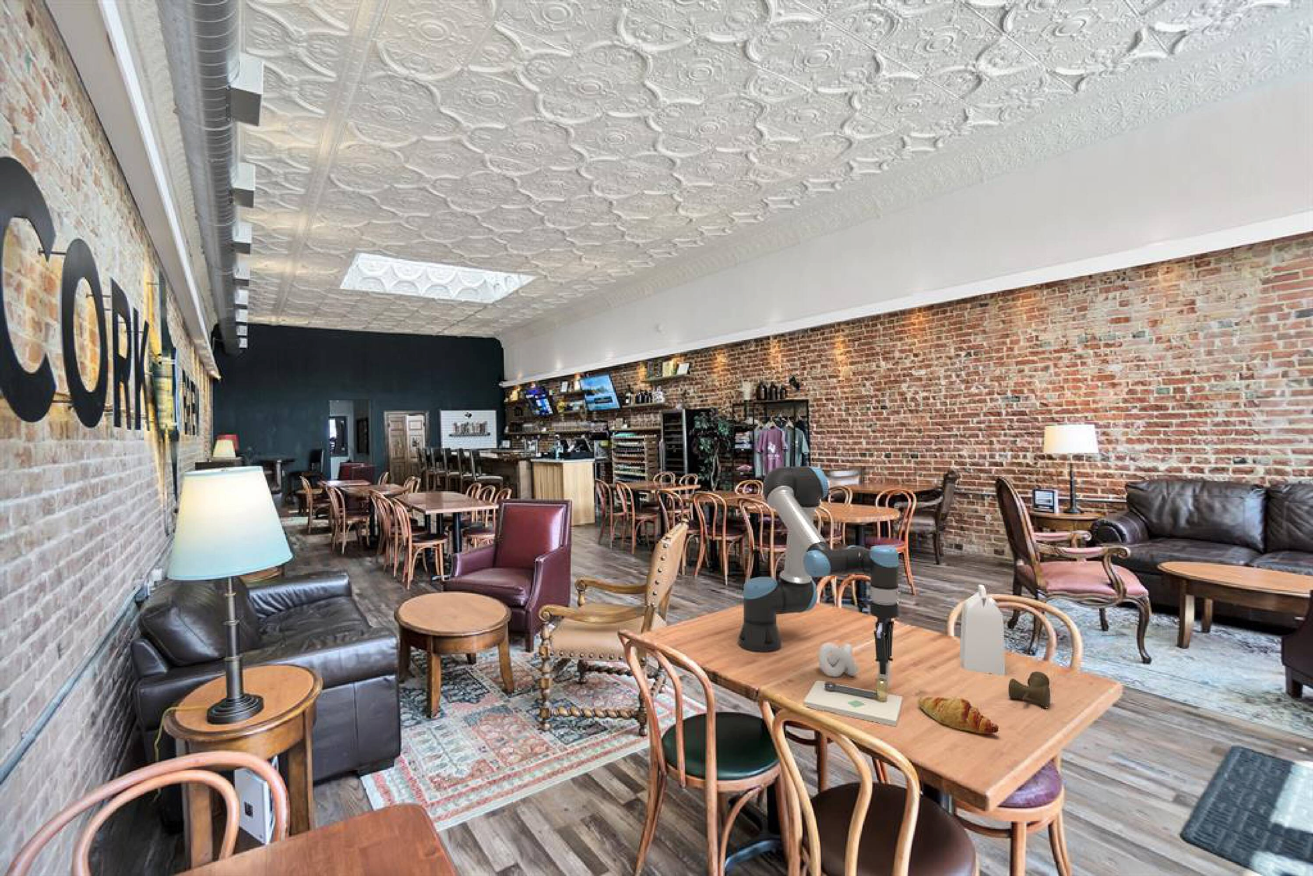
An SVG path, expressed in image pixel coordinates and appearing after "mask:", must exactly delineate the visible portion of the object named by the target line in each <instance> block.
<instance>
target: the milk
mask: <svg viewBox="0 0 1313 876" xmlns="http://www.w3.org/2000/svg"><path fill="white" fill-rule="evenodd" d="M997 605H998V603H997V601H996V600H995V599H994V598H993V597H988V596H987V589H986V588H985V586H984V584H978V586H977V592H976V593H974V594H973V595H972V596H970V597H969V598H968V599H966V600H964V602H963V603H962V608H961V623H960V625H961V626H960V641H959V643H960V646H959V660H960V659H961V660H960V663H961V662H962V663H961V665H963V666H962V669H963V668H964V669H963V671H964V670H970V671H976V672H975V673H978V672H983V673H982V674H986V673H992V674H991V675H993V674H997V675H996V676H1001V675H1003V677H1006V663H1005V662H1006V661H1005V660H1006V658H1005V657H1006V656H1005V631H1004V615H1003V613H1002V611H1001V610H1000V607H998V606H997ZM970 671H969V672H970Z"/></svg>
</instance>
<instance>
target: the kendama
mask: <svg viewBox="0 0 1313 876" xmlns="http://www.w3.org/2000/svg"><path fill="white" fill-rule="evenodd" d="M1026 682H1027V685H1025V684H1023V683H1022V682H1020V681H1018V680H1016V679H1015V678H1010V680H1009V683H1008V690H1007V691H1008V697H1009V698H1010V699H1011V700H1016V699H1022V700H1023V701H1026V700H1027V699H1028V700H1032V701H1035V702H1036V703H1037V704H1039V706H1041V705H1042V706H1041V707H1043V708H1044V707H1045V708H1044V709H1047V708H1046V707H1048V705H1049V706H1050V703H1051V688H1050V678H1049V677H1048V675H1046V674H1045V673H1044V672H1041V671H1032V672H1031V673H1030V675H1029V677H1028V678H1027V680H1026ZM1048 708H1049V707H1048Z"/></svg>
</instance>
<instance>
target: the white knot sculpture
mask: <svg viewBox="0 0 1313 876" xmlns="http://www.w3.org/2000/svg"><path fill="white" fill-rule="evenodd" d="M817 653H818V655H817V658H818V659H817V660H818V663H819V666H820V668H821V670H822V672H823V673H824V674H826V675H827V676H828V677H830V676H833V677H832V678H837V677H839V676H841V675H842V674H844V673H845V674H847V675H848V676H856V675H857V673H858V665H857V663H856V661H855V659H854V658H853V657H852V653H853V646H852V645H851V644H850V643H848V642H847V643H844V644H842V645H841V646H840V647H838V646H837V645H836V644H834V643H833V642H825V643H823V644H822V645H821V646H820V647H819V649H818V652H817Z"/></svg>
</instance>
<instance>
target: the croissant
mask: <svg viewBox="0 0 1313 876" xmlns="http://www.w3.org/2000/svg"><path fill="white" fill-rule="evenodd" d="M917 703H918V706H919V707H920V708H921V709H922V711H924V712H925V714H927V715H929V716H930V717H931V718H932V719H934V720H935V721H937V722H938V723H939V724H941V725H944V726H945V725H946V726H947V727H950V728H952V729H955V730H959V731H960V730H962V731H966V732H971V733H975V734H980V735H981V734H982V735H991V734H996V733H998V732H999V725H998V724H997V723H993V722H992V721H991V719H989V718H988V717H987V716H984V715H983V714H982V713H981V712H980V711H979V708H976V707H974V706H972V705H971V703H970V701H968V700H967V699H965V698H962V697H958V698H957V697H955V698H954V697H953V698H949V697H944V696H941V697H940V696H939V697H931V696H928V697H924V698H921V697H920V698H918V699H917Z"/></svg>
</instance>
